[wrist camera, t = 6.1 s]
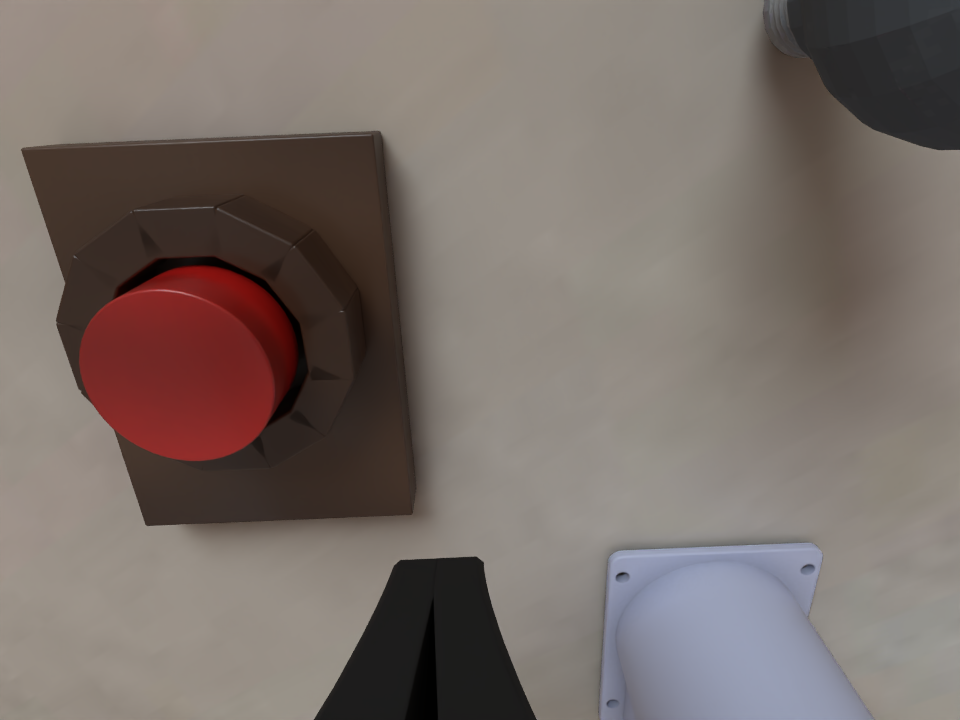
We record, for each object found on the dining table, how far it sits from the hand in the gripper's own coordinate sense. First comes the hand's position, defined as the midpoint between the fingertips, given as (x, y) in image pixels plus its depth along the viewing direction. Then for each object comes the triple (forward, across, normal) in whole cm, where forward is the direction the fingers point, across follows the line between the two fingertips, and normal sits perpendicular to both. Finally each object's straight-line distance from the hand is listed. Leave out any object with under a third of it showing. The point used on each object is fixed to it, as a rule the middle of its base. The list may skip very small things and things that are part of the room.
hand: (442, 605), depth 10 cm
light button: (+7, +6, -2) cm, 10 cm away
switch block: (+10, +6, -1) cm, 12 cm away
